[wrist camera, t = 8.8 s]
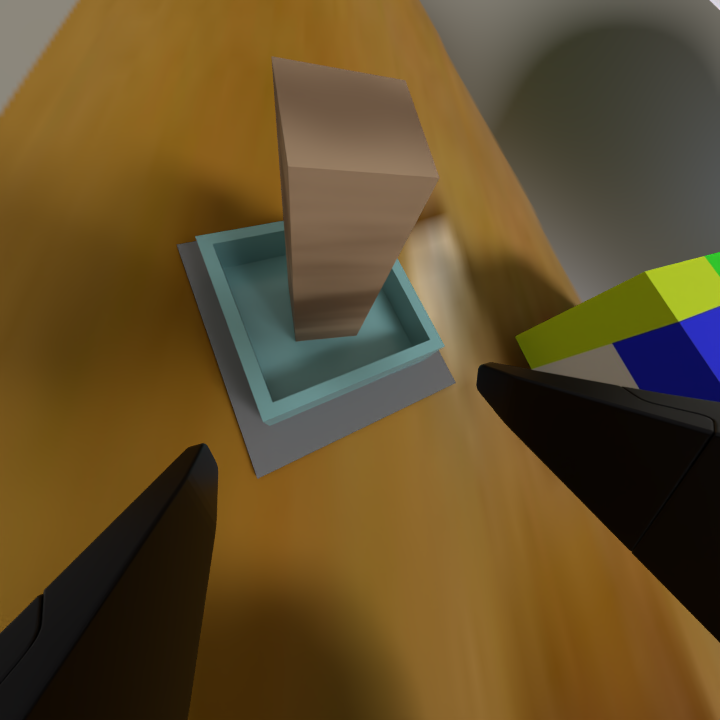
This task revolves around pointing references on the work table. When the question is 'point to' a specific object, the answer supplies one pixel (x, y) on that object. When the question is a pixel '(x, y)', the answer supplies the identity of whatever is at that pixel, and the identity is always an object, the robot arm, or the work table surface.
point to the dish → (276, 330)
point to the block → (345, 189)
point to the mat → (312, 425)
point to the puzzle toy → (640, 333)
